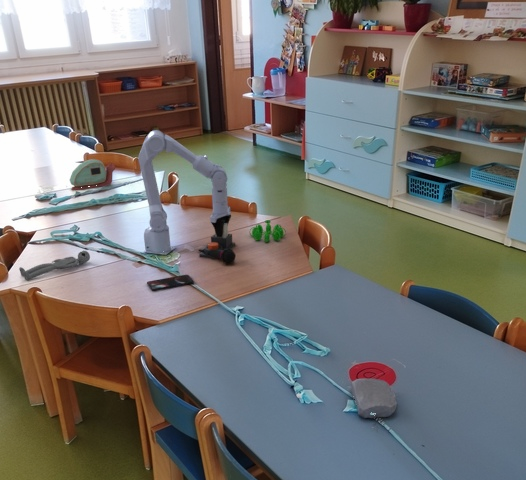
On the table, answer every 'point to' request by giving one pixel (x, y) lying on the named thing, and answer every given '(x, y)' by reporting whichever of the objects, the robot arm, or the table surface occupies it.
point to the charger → (224, 231)
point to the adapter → (205, 255)
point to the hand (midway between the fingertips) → (221, 235)
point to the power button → (213, 245)
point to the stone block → (373, 397)
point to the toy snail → (91, 175)
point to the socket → (222, 240)
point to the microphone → (222, 255)
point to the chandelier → (267, 232)
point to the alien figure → (55, 265)
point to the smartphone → (170, 282)
